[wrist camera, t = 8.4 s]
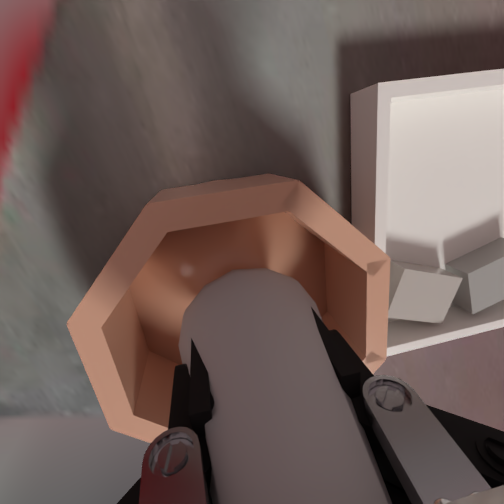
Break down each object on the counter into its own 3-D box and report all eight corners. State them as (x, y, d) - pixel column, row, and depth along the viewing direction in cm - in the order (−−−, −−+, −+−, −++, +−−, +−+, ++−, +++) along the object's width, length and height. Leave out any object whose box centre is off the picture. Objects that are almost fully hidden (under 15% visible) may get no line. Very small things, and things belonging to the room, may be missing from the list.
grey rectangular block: (500, 237, 18) (528, 244, 16) (503, 276, 19) (529, 286, 17) (444, 264, 18) (467, 273, 16) (450, 301, 19) (472, 314, 17)
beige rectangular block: (440, 267, 18) (463, 278, 16) (422, 310, 18) (442, 323, 17) (386, 258, 17) (404, 268, 15) (369, 303, 18) (385, 317, 16)
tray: (559, 69, 15) (616, 55, 13) (511, 299, 20) (547, 315, 18) (350, 94, 13) (378, 82, 11) (352, 337, 18) (372, 360, 16)
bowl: (332, 162, 14) (394, 164, 10) (338, 353, 18) (383, 416, 14) (84, 199, 13) (24, 222, 8) (150, 399, 17) (134, 487, 12)
